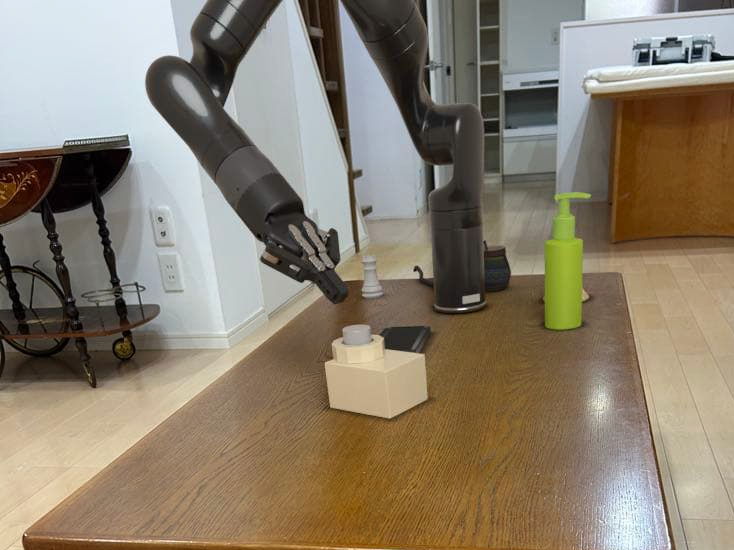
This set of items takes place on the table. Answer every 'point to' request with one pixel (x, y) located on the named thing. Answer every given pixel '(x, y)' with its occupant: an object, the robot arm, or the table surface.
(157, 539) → the table surface
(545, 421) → the table surface
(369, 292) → the rook chess piece
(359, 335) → the grey push button
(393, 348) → the phone
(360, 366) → the push button station
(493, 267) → the mate gourd
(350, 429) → the table surface
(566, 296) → the soap dispenser
